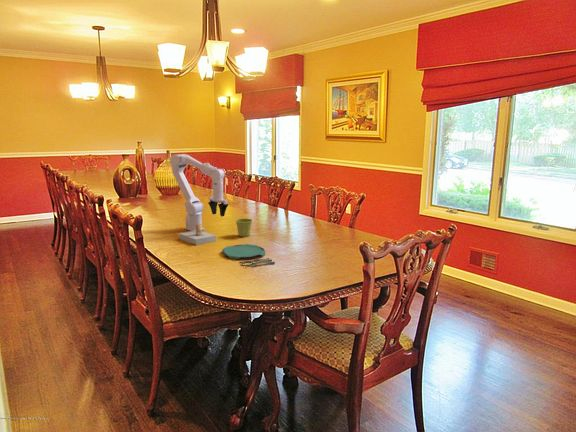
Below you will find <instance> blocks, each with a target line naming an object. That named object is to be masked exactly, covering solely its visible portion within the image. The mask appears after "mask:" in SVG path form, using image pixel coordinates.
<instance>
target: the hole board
mask: <svg viewBox="0 0 576 432" xmlns="http://www.w3.org/2000/svg"><path fill="white" fill-rule="evenodd" d="M178 237H179V238H178V239H179V240H181V241H183V242H185V243H189V244H192V245H195V246H199V245H200V246H201V245H205V244H208V242H209V243H213V241H214V242H216V241H217V235H216V234H213V233H210V232H207V231H204V230H202V235H201V236H196V230H195V231H190V230H189V231H185V232H180V233H178ZM204 243H205V244H204Z"/></svg>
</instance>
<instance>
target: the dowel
mask: <svg viewBox="0 0 576 432" xmlns="http://www.w3.org/2000/svg"><path fill="white" fill-rule="evenodd" d="M202 228H203V223H202V224H196V236H201V235H202V231H203V230H202Z"/></svg>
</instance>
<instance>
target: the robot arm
mask: <svg viewBox="0 0 576 432" xmlns="http://www.w3.org/2000/svg"><path fill="white" fill-rule="evenodd" d="M169 163H170V166H171V172H172V174H173V177H174V179H175V181H176V184H177V185H178V187H179V189H180V191H181V193H182V195H183V198H184V199H185V203H184V206H185V212H186V213H187V214H186V216H185V227H184V229H185V230H188V231H189V232H190V231H195V230H196V224H202V225H203V222H202V216H203V215H202V213H203V211H204V208H205V207H204V204H203V203H202V201H200V199H199V198H198V197H197V196H195V194H194V191H193V190H192V187H191V185H190V183H189V182H188V180H187V178H186V176H185V175H186V174H185V173H184V170H185V168H186V167H187V166H188V165H190V166H192V167H194V168H197V169H199V170H200V172H201V173H202V174H204V175H206V176H209V177H210V178H211V181H212V182H211V183H212V196H209V197H208V202H207V204H208V205H209V207H210V210H211V215H216V214H217V210H218V209H219V216H220V217H225V214H226V210H227V208H228V206H229V204H228V202H229V200H227V199H225V198H224V179H225V177H226V174H225V170H223V169H222V168H218V167H217V166H213V165H211V164H210V162H204V163H203V162H201V161H199V160H197V159H196V158H194V157H192V156H191V155H188V154H186V153H182V154H181V153H180V154H179V153H178V154H172V155H171V157H170V160H169ZM217 208H218V209H217ZM204 230H206V229H205V228H204V227H202V231H204Z"/></svg>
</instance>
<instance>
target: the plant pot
mask: <svg viewBox="0 0 576 432" xmlns="http://www.w3.org/2000/svg"><path fill="white" fill-rule="evenodd" d="M234 221H235V222H236V226H237V234H238V237H242V238H244V237H245V238H246V237H250V235H251V229H252V228H251V227H252V223H253V221H254V220H253V219H251V218H237V219H235V220H234Z"/></svg>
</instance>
